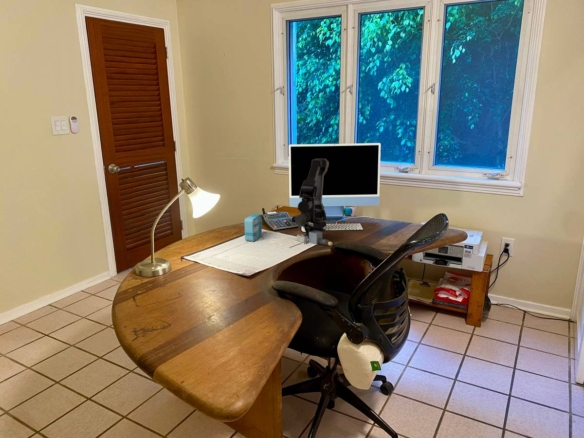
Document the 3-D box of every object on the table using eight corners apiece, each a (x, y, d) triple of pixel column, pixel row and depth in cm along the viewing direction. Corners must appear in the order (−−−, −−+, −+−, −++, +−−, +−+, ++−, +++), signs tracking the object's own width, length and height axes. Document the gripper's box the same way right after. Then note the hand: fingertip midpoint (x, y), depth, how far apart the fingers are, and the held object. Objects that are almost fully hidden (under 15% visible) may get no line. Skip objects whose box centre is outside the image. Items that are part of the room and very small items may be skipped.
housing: (311, 236, 228) (311, 229, 227) (318, 238, 224) (318, 231, 223) (296, 241, 219) (296, 234, 218) (304, 243, 216) (304, 236, 215)
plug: (314, 240, 222) (314, 230, 220) (334, 245, 213) (334, 235, 212) (308, 242, 218) (308, 231, 217) (328, 247, 210) (328, 237, 209)
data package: (253, 242, 219) (252, 219, 216) (245, 241, 220) (244, 218, 217) (262, 235, 230) (261, 213, 227) (254, 234, 231) (253, 213, 228)
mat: (281, 237, 226) (281, 236, 226) (301, 243, 217) (301, 242, 217) (269, 241, 220) (269, 241, 220) (289, 247, 211) (289, 247, 211)
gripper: (284, 207, 217) (284, 237, 222) (312, 214, 205) (312, 245, 209) (299, 203, 225) (299, 232, 229) (327, 209, 213) (326, 240, 217)
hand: (308, 237), depth 221 cm, fingers closed
